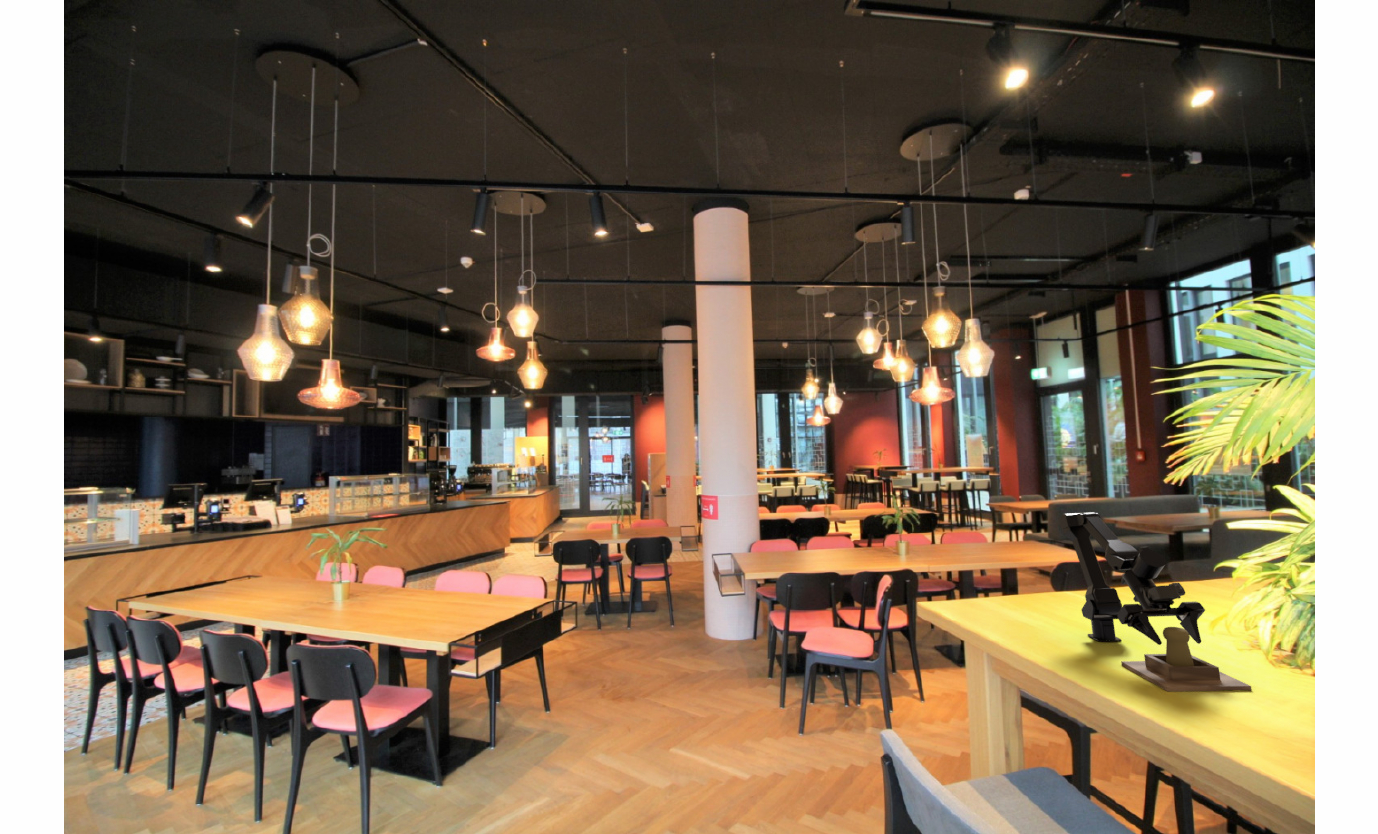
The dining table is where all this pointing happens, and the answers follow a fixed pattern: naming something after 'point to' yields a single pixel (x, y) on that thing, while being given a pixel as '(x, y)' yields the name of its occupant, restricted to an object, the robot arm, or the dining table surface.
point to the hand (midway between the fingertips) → (1180, 643)
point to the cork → (1177, 647)
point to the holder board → (1183, 675)
